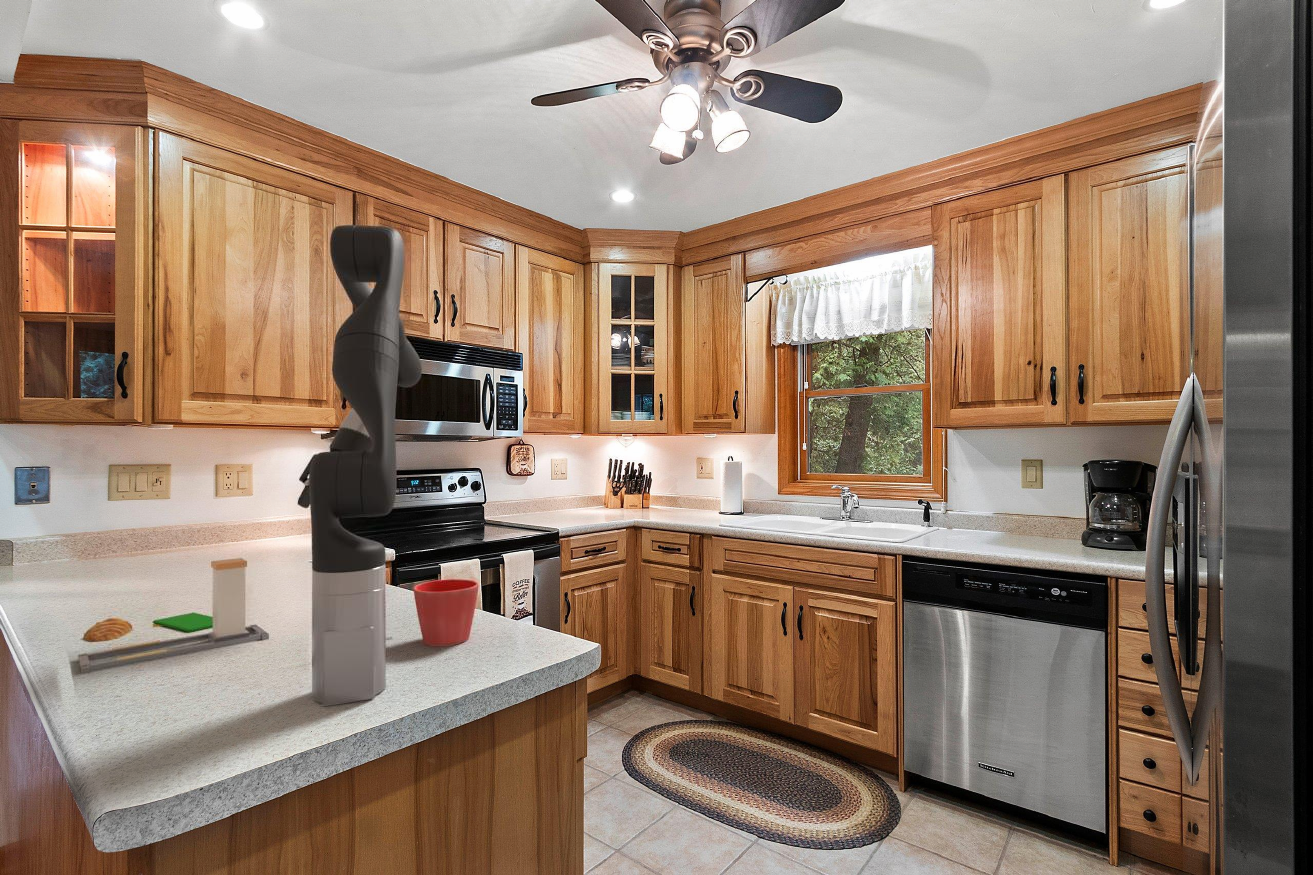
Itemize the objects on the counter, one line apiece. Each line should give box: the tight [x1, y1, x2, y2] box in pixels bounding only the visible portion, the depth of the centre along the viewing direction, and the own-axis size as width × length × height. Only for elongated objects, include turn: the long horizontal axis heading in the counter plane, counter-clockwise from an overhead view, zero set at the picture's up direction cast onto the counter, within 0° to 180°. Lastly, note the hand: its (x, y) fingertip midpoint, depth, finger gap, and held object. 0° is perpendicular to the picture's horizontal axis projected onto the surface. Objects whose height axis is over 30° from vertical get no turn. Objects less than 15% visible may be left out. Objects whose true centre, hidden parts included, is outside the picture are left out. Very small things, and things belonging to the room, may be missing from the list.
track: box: [77, 624, 270, 675], centre depth 105 cm, size 24×9×2 cm, turn 134°
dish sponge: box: [152, 612, 213, 633], centre depth 121 cm, size 7×14×2 cm, turn 60°
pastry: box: [82, 617, 134, 643], centre depth 114 cm, size 9×7×4 cm
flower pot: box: [413, 578, 480, 647], centre depth 114 cm, size 11×11×10 cm
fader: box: [208, 557, 250, 643], centre depth 110 cm, size 5×5×13 cm
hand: (319, 510), depth 121 cm, fingers open, 8 cm apart
